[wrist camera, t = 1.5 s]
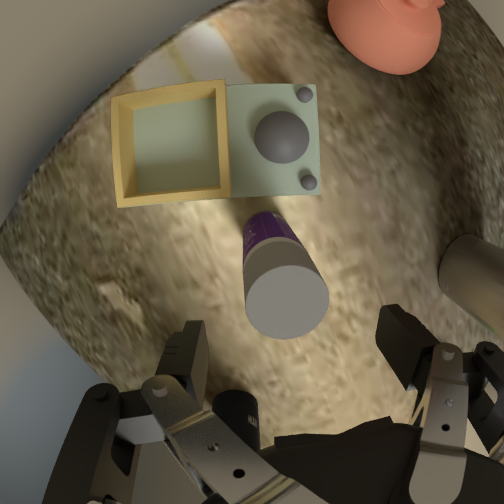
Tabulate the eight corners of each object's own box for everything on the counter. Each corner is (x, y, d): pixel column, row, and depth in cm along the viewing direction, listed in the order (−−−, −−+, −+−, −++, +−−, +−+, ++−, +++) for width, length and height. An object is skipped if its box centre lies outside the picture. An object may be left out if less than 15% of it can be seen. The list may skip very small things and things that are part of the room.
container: (240, 213, 28) (236, 268, 14) (287, 208, 28) (331, 256, 14) (245, 258, 29) (248, 346, 15) (290, 252, 29) (330, 334, 15)
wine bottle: (209, 413, 37) (194, 600, 8) (217, 386, 35) (202, 604, 6) (251, 420, 37) (259, 602, 9) (262, 393, 36) (280, 603, 7)
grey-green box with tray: (300, 100, 25) (325, 74, 16) (304, 188, 27) (331, 199, 19) (141, 112, 24) (100, 95, 16) (146, 198, 27) (107, 214, 19)
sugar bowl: (299, 9, 21) (321, -43, 11) (384, -16, 19) (420, -53, 9) (366, 95, 24) (419, 72, 15) (440, 59, 22) (493, 40, 13)
